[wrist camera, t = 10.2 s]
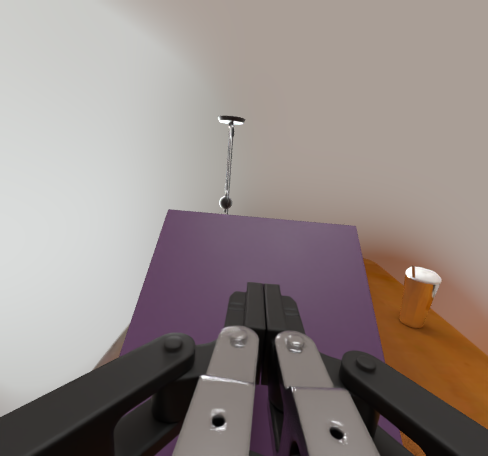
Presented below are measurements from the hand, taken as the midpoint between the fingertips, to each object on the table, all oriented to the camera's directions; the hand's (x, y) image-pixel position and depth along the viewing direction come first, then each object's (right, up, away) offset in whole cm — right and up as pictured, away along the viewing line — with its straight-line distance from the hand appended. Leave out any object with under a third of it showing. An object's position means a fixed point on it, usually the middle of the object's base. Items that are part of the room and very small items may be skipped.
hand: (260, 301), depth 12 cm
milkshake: (+26, -12, +30) cm, 41 cm away
